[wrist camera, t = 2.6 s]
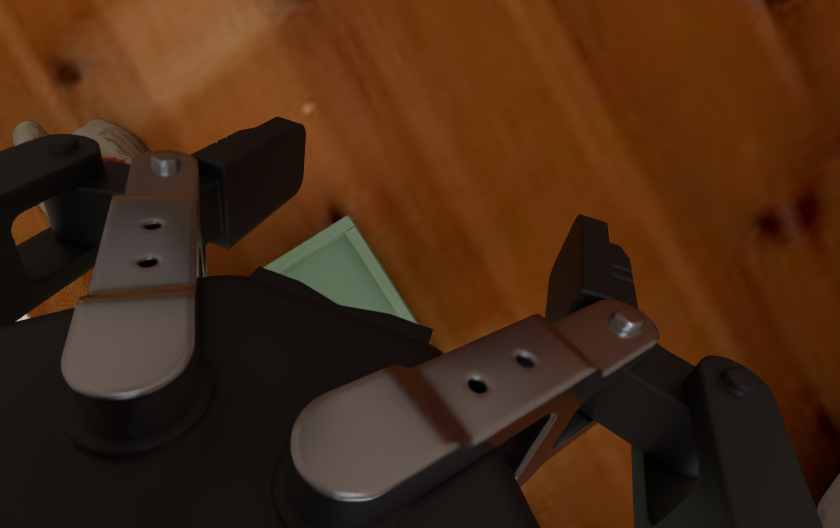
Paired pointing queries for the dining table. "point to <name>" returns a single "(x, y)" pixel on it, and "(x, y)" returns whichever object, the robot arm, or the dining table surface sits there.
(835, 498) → the ceramic pitcher
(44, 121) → the dining table surface
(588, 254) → the robot arm
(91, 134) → the chocolate bunny
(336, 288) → the green tub
